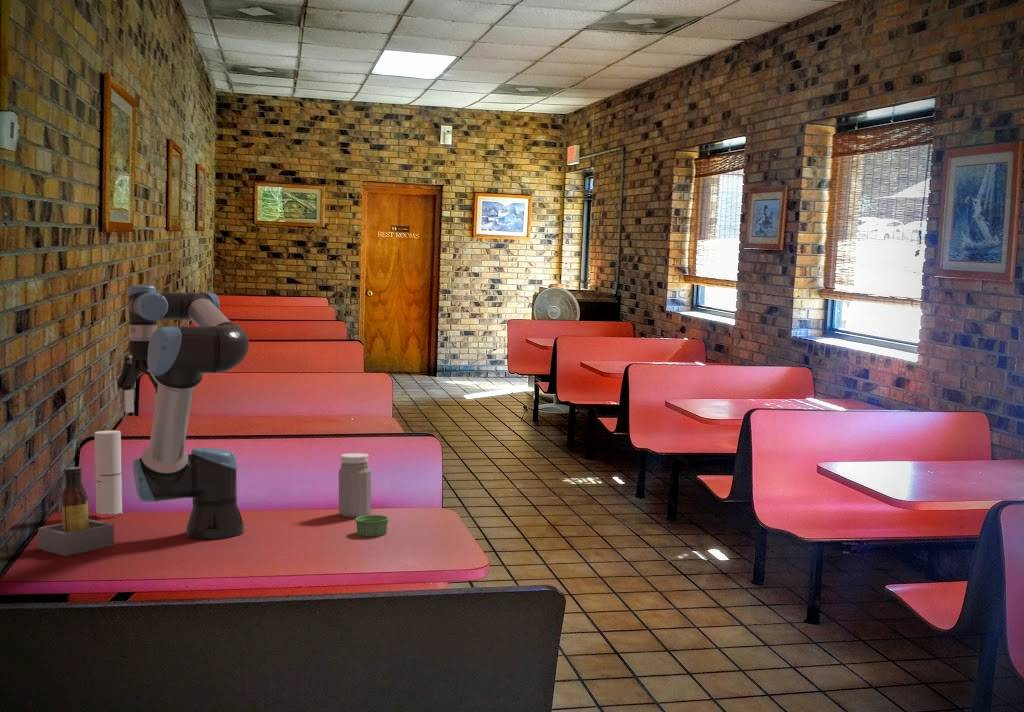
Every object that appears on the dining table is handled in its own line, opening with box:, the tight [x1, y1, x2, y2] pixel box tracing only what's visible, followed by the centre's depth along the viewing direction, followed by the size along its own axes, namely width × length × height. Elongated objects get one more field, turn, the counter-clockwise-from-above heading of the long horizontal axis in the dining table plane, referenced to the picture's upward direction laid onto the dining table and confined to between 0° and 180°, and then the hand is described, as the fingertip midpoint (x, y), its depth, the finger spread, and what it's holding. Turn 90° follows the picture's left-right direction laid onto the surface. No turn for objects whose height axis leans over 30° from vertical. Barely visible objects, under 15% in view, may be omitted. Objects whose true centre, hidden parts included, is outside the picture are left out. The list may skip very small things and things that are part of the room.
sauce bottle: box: [61, 466, 90, 533], centre depth 254 cm, size 7×6×20 cm
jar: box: [338, 452, 372, 519], centre depth 294 cm, size 10×10×18 cm
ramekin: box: [354, 514, 389, 538], centre depth 271 cm, size 9×9×4 cm
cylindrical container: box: [94, 429, 123, 514], centre depth 292 cm, size 7×7×25 cm
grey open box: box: [37, 519, 115, 557], centre depth 255 cm, size 12×13×6 cm
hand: (144, 414), depth 282 cm, fingers open, 13 cm apart
